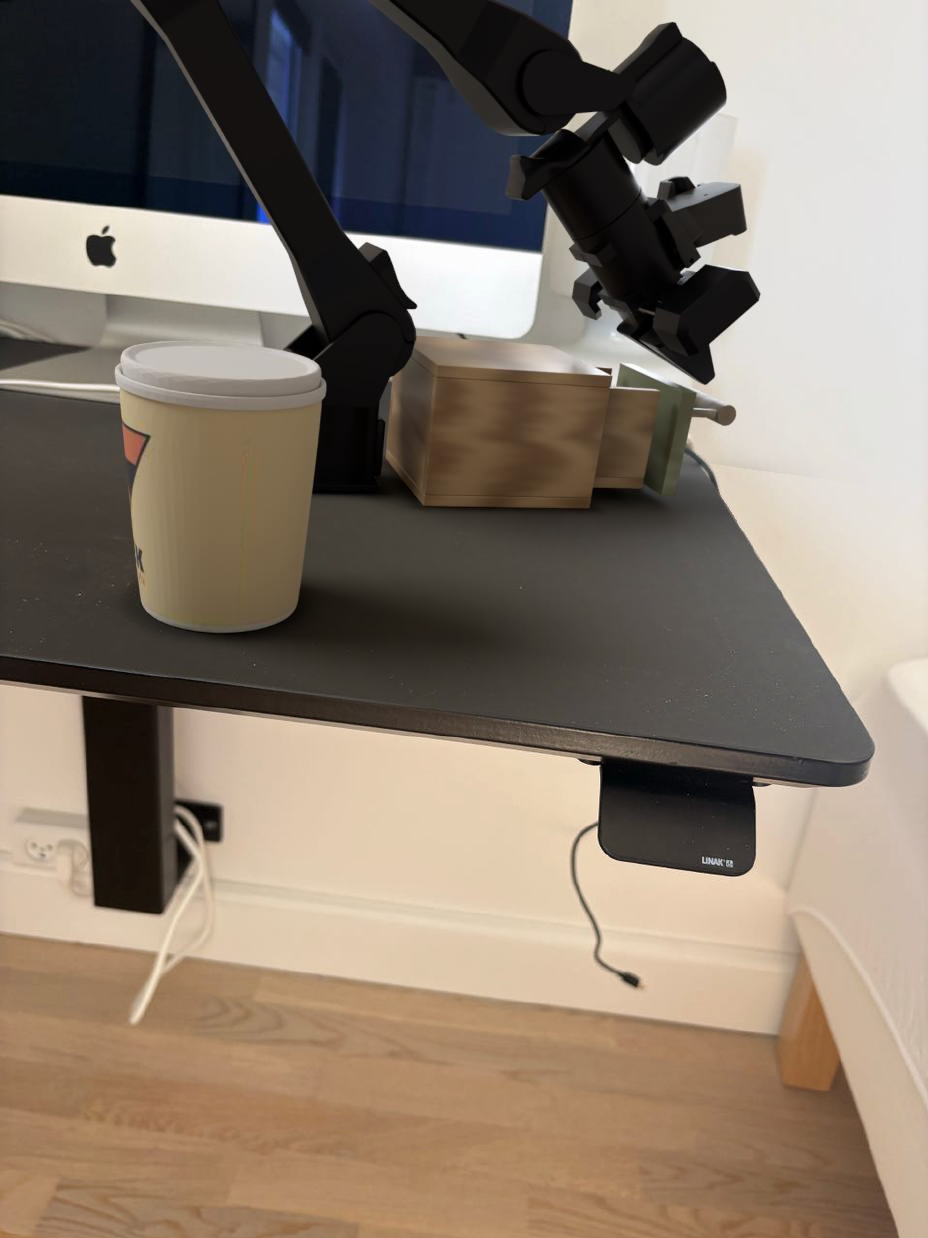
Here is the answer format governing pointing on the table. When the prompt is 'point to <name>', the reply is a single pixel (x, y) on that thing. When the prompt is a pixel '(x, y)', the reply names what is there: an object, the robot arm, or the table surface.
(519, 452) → the cabinet
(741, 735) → the table surface
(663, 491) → the drawer
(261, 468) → the coffee cup
